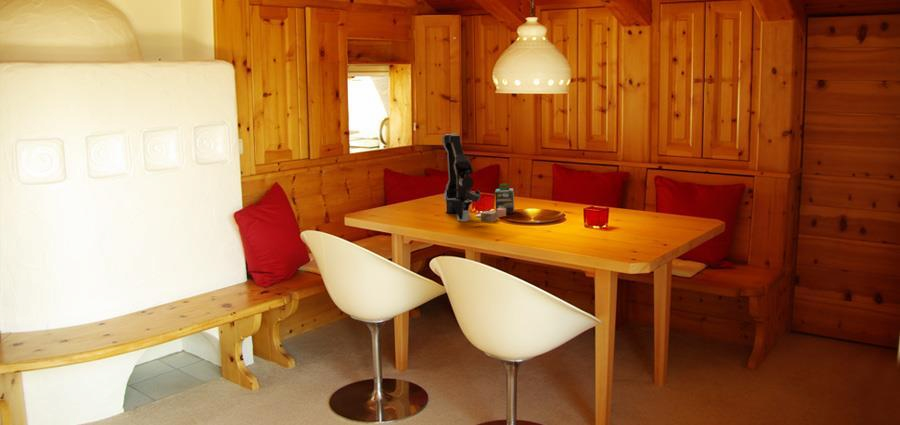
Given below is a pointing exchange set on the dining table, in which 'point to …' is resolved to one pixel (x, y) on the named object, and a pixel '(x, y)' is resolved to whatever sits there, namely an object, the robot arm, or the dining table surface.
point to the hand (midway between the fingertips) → (463, 217)
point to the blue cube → (464, 216)
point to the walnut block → (489, 216)
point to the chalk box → (505, 198)
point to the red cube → (501, 212)
